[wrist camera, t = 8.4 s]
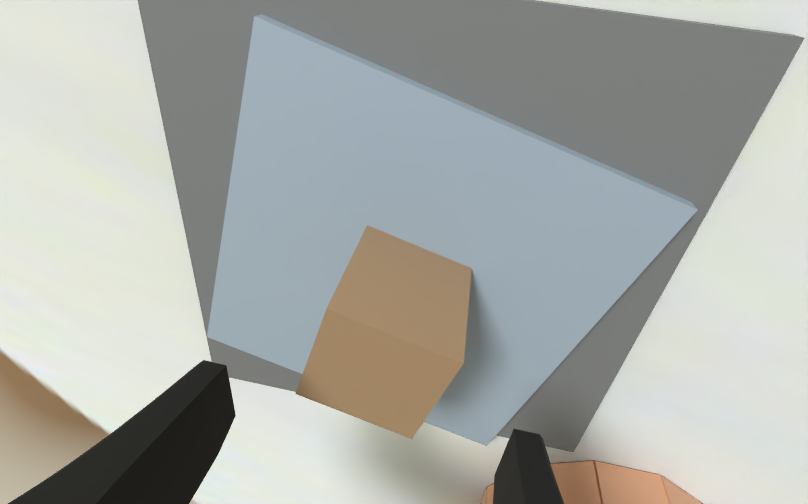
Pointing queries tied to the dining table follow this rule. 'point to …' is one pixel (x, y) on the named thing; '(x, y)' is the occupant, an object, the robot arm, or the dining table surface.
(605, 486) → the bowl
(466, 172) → the cover
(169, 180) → the dining table surface
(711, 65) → the mat
